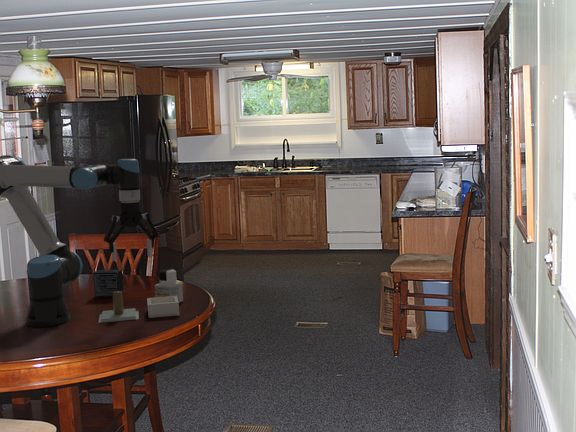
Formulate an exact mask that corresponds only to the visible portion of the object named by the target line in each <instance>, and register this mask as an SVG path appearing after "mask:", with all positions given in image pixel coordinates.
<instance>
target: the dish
mask: <svg viewBox="0 0 576 432" xmlns="http://www.w3.org/2000/svg"><path fill="white" fill-rule="evenodd" d="M146 301H147V314H148V316H147V317H148V318H149V319H151V318H163V317H172V316H173V317H174V316H178V317H179V316H180V303H179V302H178V298H177V296H167V297H156V298H155V297H147V298H146Z"/></svg>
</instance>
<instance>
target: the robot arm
mask: <svg viewBox="0 0 576 432" xmlns="http://www.w3.org/2000/svg"><path fill="white" fill-rule="evenodd" d="M140 179H141V178H140V166H139V160H138V159H136V158H121V159H118V160H117V164H100V163H97V164H89V165H87V166H66V165H65V166H63V165H33V164H26V163H25V162H24V161H23V160H22V159H21V158H19V157H18V156H15V155H7V154H6V155H0V197H1V198H4V199H6V200H7V202H9V204H10V206H11V208H12V209H13V212H14V213H15V215H16V216H17V219H18V220H19V221H20V223H21V225H22V227H23V228H24V231H25V232H26V234H27V235H28V237H29V239H30V240H31V242H32V243H33V245H34V247H35V249H36V251H37V252H38V254H39V255H38V256H35V257H33V258H31V259H29V260H28V261H27V263H26V275H27V284H28V285H27V286H28V288H27V289H28V295H29V296H28V297H29V304H28V309H27V312H26V317H25V323H26V325H27V326H28V327H32V328H48V327H54V326H58V325H59V326H60V325H62V324H65V323H68V322H69V321H70V320H71V314H70V311H69V309H68V306H67V305H66V302H65V298H64V290H63V287H65V286H67V285H70V284H72V283H74V282H75V281H77V280H78V279H79V278H80V276H81V274H82V272H83V266H84V265H83V261H82V259H81V257H80V256H79V255H78V253H76V252H74V251H72V250H70V249H69V246H68V245H67V243H64V242H63V243H62V242H61V241H60V239H59V238H58V236H57V234H56V233H55V231H54V230H53V228H52V226H51V224H50V222H49V221H48V219H47V217H46V215H45V214H44V212H43V211H42V209H41V207H40V205H39V204H38V202H37V200H36V199H35V197H34V196H33V194H32V192H31V191H30V189H29V187H35V188H36V187H38V188H42V187H43V188H61V189H62V188H63V189H64V188H66V189H67V188H68V189H70V188H71V189H78V190H83V191H85V190H86V191H87V190H90V189H94V188H98V187H103V186H118V200H119V201H120V203H119V215H118V216H117V215H112V216H111V219H110V224H109V226H108V228H107V230H106V232H105V236H104V237H103V239H102V240H103V242H105V243H108V251H109V253H111V260H112V261H113V262H117V243H115V241H116V240H117V239H118V237H119V236H120V234H121V233H122V232H123V230H125V229H126V228H131V227H133V228H136V227H138V228H139V229H140V230H141V231H142V232H143V233H144V235H146V237H148V238H146V247H147V248H146V251H147V257H148V258H153V249H154V247H155V239H156V238H159V233H158V231H157V229H156V228H155V225H154V224H153V222H152V220H151V217H150V214H149V213H148V212H144V213H143V214H142V209H141V207H142V206H141V202H140V200H141V188H140V182H141V180H140ZM142 219H143V220H144V221H145V222H146V225H147V227H148V228H149V230H150V231H149V230H148V229H147V228H146V226H144V224H143V223H142V222H141V220H142ZM119 221H120V223H119V225H118V226H117V228H115V227H116V225H117V223H118V222H119ZM114 229H115V231H114Z"/></svg>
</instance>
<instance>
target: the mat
mask: <svg viewBox="0 0 576 432" xmlns="http://www.w3.org/2000/svg"><path fill="white" fill-rule="evenodd" d="M139 315H140V314H139V310H136V319H134V320H139V319H140V317H139ZM101 318H102V313H101V314H99V318H98V323H101V324H102V323H103V322H101ZM134 320H133V321H134ZM123 321H125V320H123ZM123 321H122V322H123ZM111 322H112V323H113V322H114V321H111ZM111 322H110V323H111Z"/></svg>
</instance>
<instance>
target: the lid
mask: <svg viewBox="0 0 576 432" xmlns="http://www.w3.org/2000/svg"><path fill="white" fill-rule="evenodd" d="M112 293H113V297H112V303H113V305H112V306H113V307H112V308H113V309H111V310H102V312H101V314H102V318H101V322H102V323H111V321H113V322H123V320H124V321H134V319H135V320H137V319H136V311H137V310H136V307H134V308H133V307H132V308H124V300H123V295H122V291H114V292H112Z"/></svg>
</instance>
